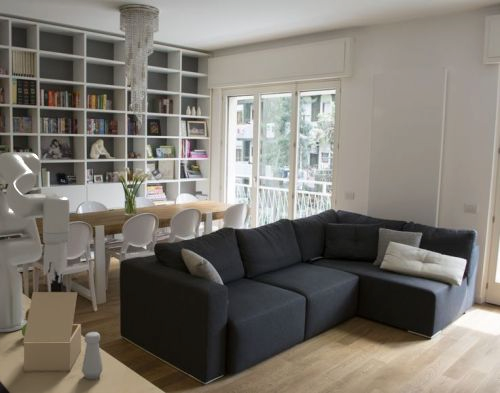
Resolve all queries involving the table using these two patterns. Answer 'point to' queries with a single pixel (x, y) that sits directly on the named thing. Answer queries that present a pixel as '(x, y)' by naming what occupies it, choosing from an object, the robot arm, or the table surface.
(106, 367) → the table surface
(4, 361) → the table surface
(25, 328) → the snail figurine
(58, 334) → the flap
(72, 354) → the carton
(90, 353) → the salt shaker
